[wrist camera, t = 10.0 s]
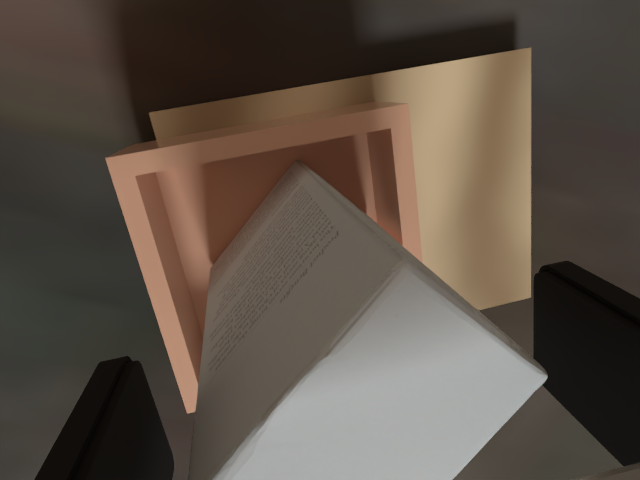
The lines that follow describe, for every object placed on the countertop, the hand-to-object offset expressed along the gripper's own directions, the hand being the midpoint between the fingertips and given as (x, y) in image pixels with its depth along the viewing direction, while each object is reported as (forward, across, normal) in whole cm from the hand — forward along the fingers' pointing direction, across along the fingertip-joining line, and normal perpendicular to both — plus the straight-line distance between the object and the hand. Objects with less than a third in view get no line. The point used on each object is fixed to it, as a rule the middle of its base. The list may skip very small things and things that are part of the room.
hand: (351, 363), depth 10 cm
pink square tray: (+10, +1, 0) cm, 10 cm away
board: (+11, -3, 0) cm, 12 cm away
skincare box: (+10, 0, 0) cm, 10 cm away
